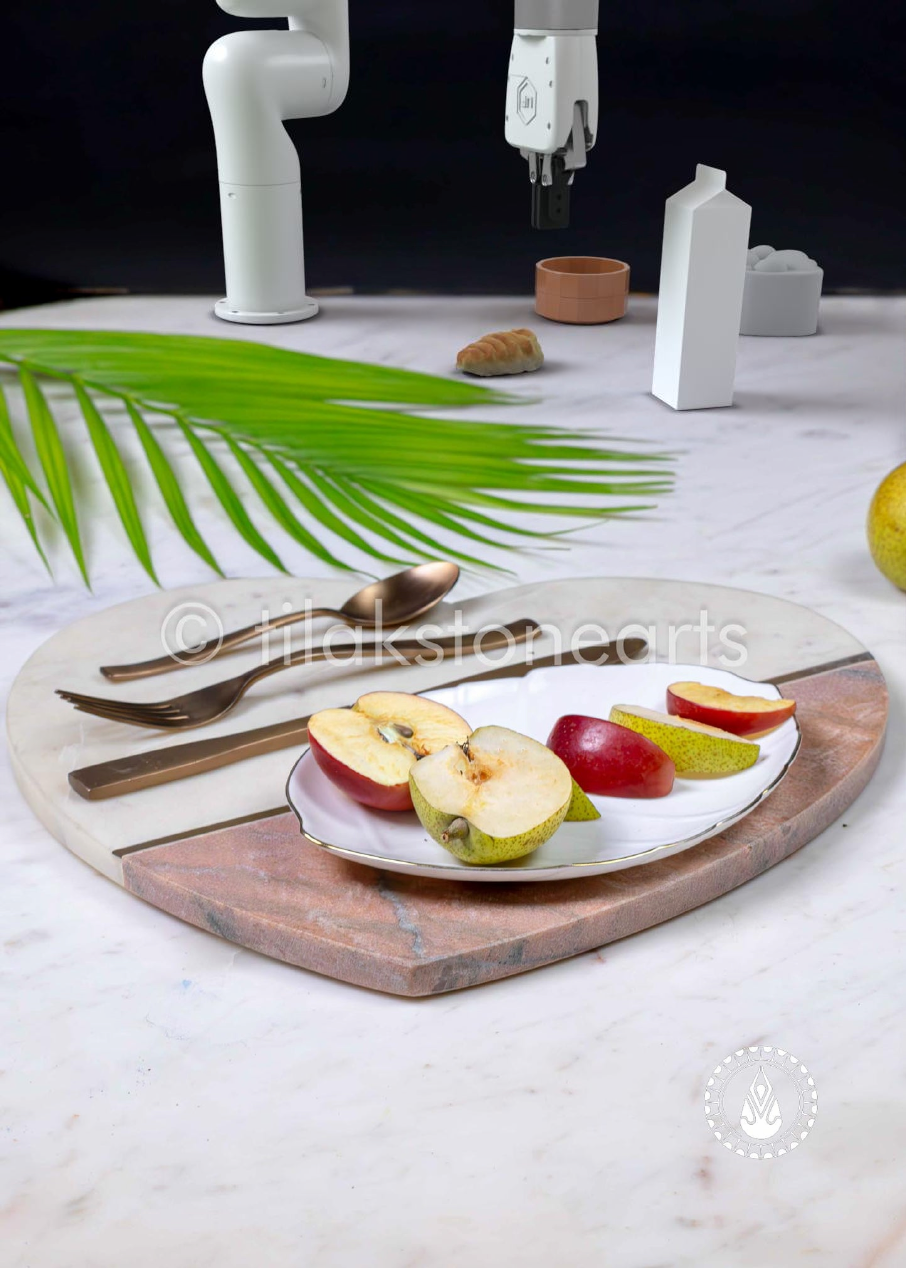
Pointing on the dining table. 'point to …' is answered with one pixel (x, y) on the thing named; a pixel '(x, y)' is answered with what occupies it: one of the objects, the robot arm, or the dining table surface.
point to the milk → (700, 293)
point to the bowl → (581, 289)
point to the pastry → (502, 354)
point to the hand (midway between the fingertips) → (550, 227)
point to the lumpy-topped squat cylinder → (780, 293)
